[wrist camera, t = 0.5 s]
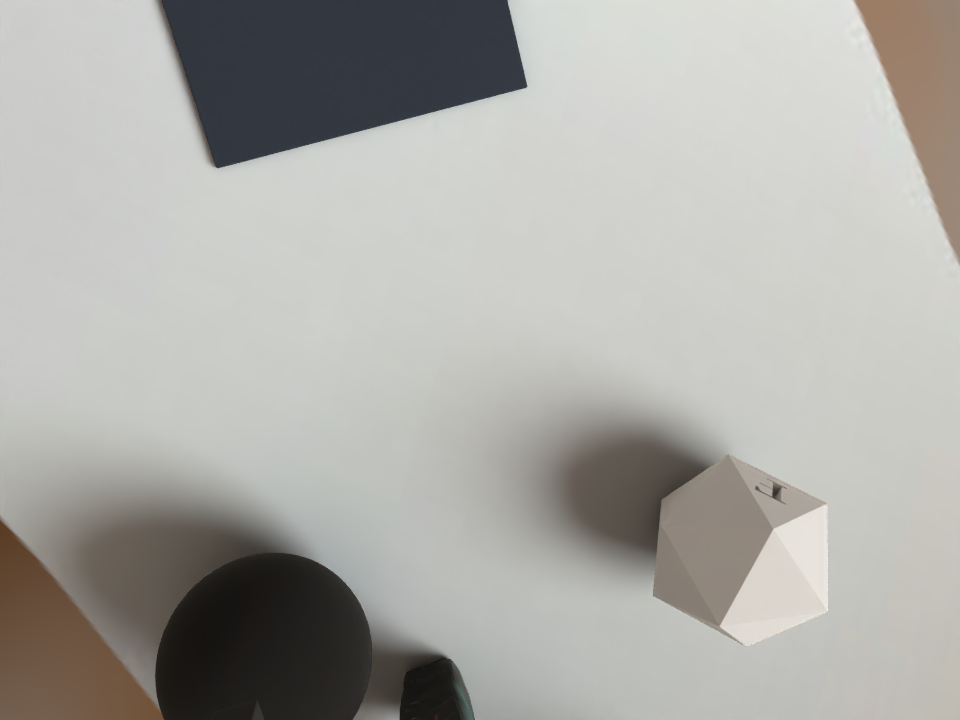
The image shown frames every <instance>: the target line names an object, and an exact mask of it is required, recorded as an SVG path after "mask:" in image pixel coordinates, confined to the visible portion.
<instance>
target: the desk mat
mask: <svg viewBox="0 0 960 720" xmlns="http://www.w3.org/2000/svg"><path fill="white" fill-rule="evenodd" d="M162 3H163V6H164V9H165V12H166V15H167V18H168V21H169V24H170V27H171V30H172V33H173V36H174V39H175V42H176V45H177V49H178V52H179V55H180V58H181V61H182V64H183V67H184V70H185V73H186V76H187V79H188V82H189V85H190V88H191V91H192V94H193V97H194V100H195V103H196V107H197V110H198V113H199V116H200V119H201V122H202V125H203V128H204V131H205V134H206V137H207V140H208V143H209V146H210V149H211V152H212V155H213V158H214V161H215V164H216V167H217V168H221V167H225V166H229V165H232V164H236V163H240V162H244V161H248V160H251V159H255V158H259V157H263V156H267V155H271V154H274V153H278V152H282V151H286V150H290V149H293V148H297V147H301V146H305V145H309V144H313V143H316V142H320V141H324V140H328V139H332V138H335V137H339V136H343V135H347V134H351V133H355V132H358V131H362V130H366V129H370V128H374V127H378V126H381V125H385V124H389V123H393V122H397V121H400V120H404V119H408V118H412V117H416V116H420V115H423V114H427V113H431V112H435V111H439V110H442V109H446V108H450V107H454V106H458V105H462V104H465V103H469V102H473V101H477V100H481V99H485V98H488V97H492V96H496V95H500V94H504V93H507V92H511V91H515V90H519V89H523V88H526V87H527V83H526V79H525V75H524V70H523V66H522V62H521V58H520V53H519V49H518V45H517V40H516V36H515V32H514V27H513V23H512V19H511V14H510V10H509V6H508V1H507V0H162Z"/></svg>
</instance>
